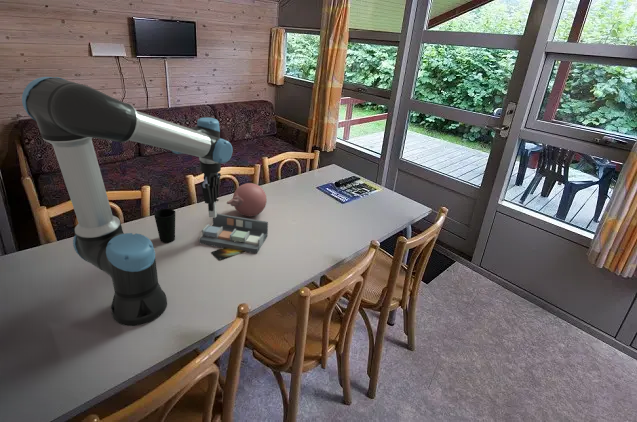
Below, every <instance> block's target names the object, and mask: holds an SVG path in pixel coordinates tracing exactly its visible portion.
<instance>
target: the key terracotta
mask: <svg viewBox="0 0 637 422" xmlns="http://www.w3.org/2000/svg"><path fill="white" fill-rule="evenodd" d="M231 233H232V232H229V231H222V232H221V234H220V235H219V236H218V239H224V240H230V234H231Z"/></svg>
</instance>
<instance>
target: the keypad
mask: <svg viewBox="0 0 637 422" xmlns="http://www.w3.org/2000/svg"><path fill="white" fill-rule="evenodd" d="M209 226H210V223H207V224H206V225H205V226H204V227H203V228H202V229H201V235H202V236H200V238H199V239H198V243H199V245H200V244H201V245H204V246H212V247H217V248H231V249H237V250H243V251H246V252H245V253H250V254H258V253H259V251H260V249H261V248H262V247H263V245H264V243H265V241H266V240H267V238H268V229H269V221H266V220H259V219H254V218H246V217H240V216H233V215H228V214H222V213H217V217H216V218H212V224H211V226H214V227H220V229H219V230H218V231H217V232H216V237H210V236H205V232H204V231H205V230H206V229H207V228H208V227H209ZM236 230H237V231H243V232H247V234H246V235H245V237H244V243H241V242H239V241H233V240H232V235H233V234H234V233H235V232H236ZM222 231H229V232H232V233H231V234H230V240H224V239H218V236H219V235H220V234H221V232H222ZM250 235H252V236H258V237H260V238H259V239H258V245H253V244H247V243H246V240H247V239H248V237H249V236H250Z"/></svg>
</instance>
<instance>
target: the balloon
mask: <svg viewBox="0 0 637 422" xmlns="http://www.w3.org/2000/svg"><path fill="white" fill-rule="evenodd" d="M232 195H233V196H232V198H231V199H230V200H228V201H227V202H226V204H227V205H230V206H231V207H234V209H235V210H236V211H237V212H238V213H239V214H240V215H243V216H245V217H255V216H258V215H259V214H261V213H262V212H263V211H264V209H265V208H266V206H267V194H266V191H264V189H263V188H262V187H261V186H260V185H258V184H256V183H251V182H247V183H243V184H241V185H239V186H238V187H237V188H236V189H235V190H234V193H233V194H232Z"/></svg>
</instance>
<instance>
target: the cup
mask: <svg viewBox="0 0 637 422" xmlns="http://www.w3.org/2000/svg"><path fill="white" fill-rule="evenodd" d="M153 216H154V220H155V225H156V228H157V233H158V237H159V241H160V243H163V244H169V243H173V242H175V240H176V211H175V210H174V209H172V208H161V209H160V208H159V209H158V210H156V211H154V213H153Z"/></svg>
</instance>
